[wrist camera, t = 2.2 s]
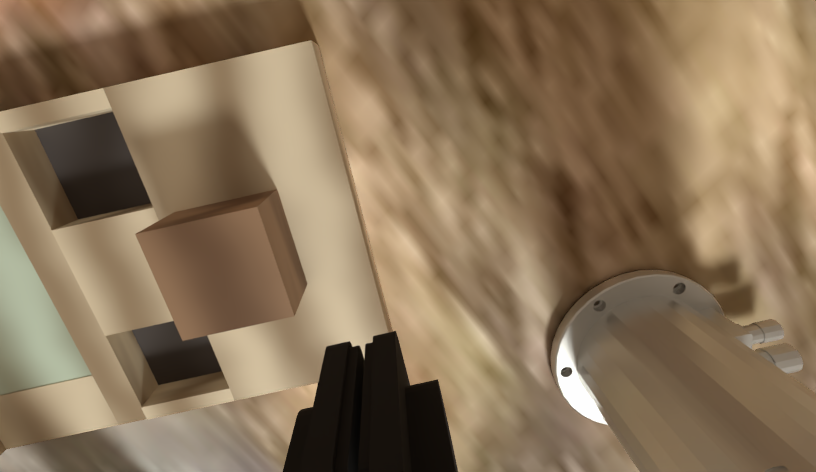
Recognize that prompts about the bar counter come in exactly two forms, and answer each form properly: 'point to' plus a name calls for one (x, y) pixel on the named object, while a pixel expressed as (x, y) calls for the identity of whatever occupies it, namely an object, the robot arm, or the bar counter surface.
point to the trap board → (147, 204)
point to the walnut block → (225, 264)
